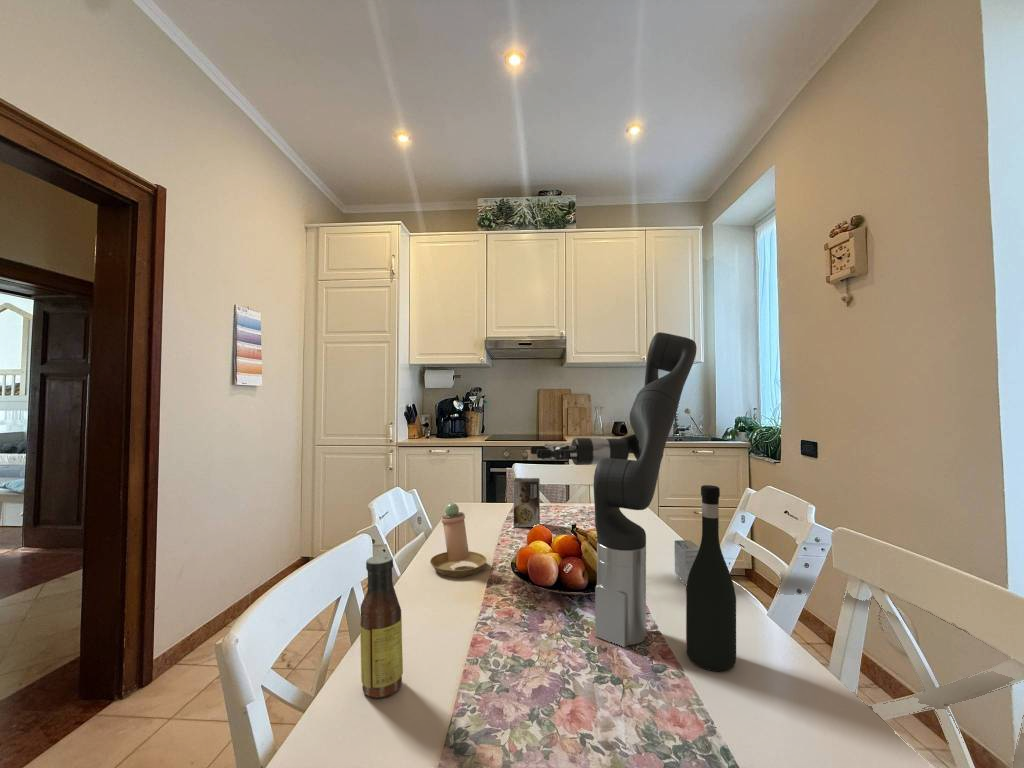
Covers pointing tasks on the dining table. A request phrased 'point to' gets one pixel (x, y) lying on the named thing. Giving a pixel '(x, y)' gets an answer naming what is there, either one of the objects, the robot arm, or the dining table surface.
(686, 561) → the medicine box
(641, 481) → the robot arm
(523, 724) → the dining table surface
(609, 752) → the dining table surface
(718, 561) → the wine bottle
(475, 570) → the plant saucer
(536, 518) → the coffee box
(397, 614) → the sauce bottle
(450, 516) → the pepper mill
